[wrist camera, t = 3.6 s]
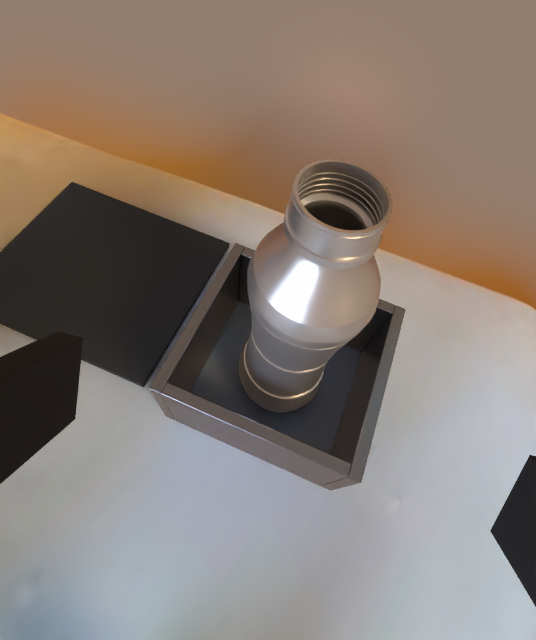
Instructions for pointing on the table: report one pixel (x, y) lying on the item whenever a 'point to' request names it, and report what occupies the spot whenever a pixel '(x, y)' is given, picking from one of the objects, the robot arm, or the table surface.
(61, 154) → the table surface
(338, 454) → the steel caddy
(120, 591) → the table surface
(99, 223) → the slate mat
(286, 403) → the metal bottle
